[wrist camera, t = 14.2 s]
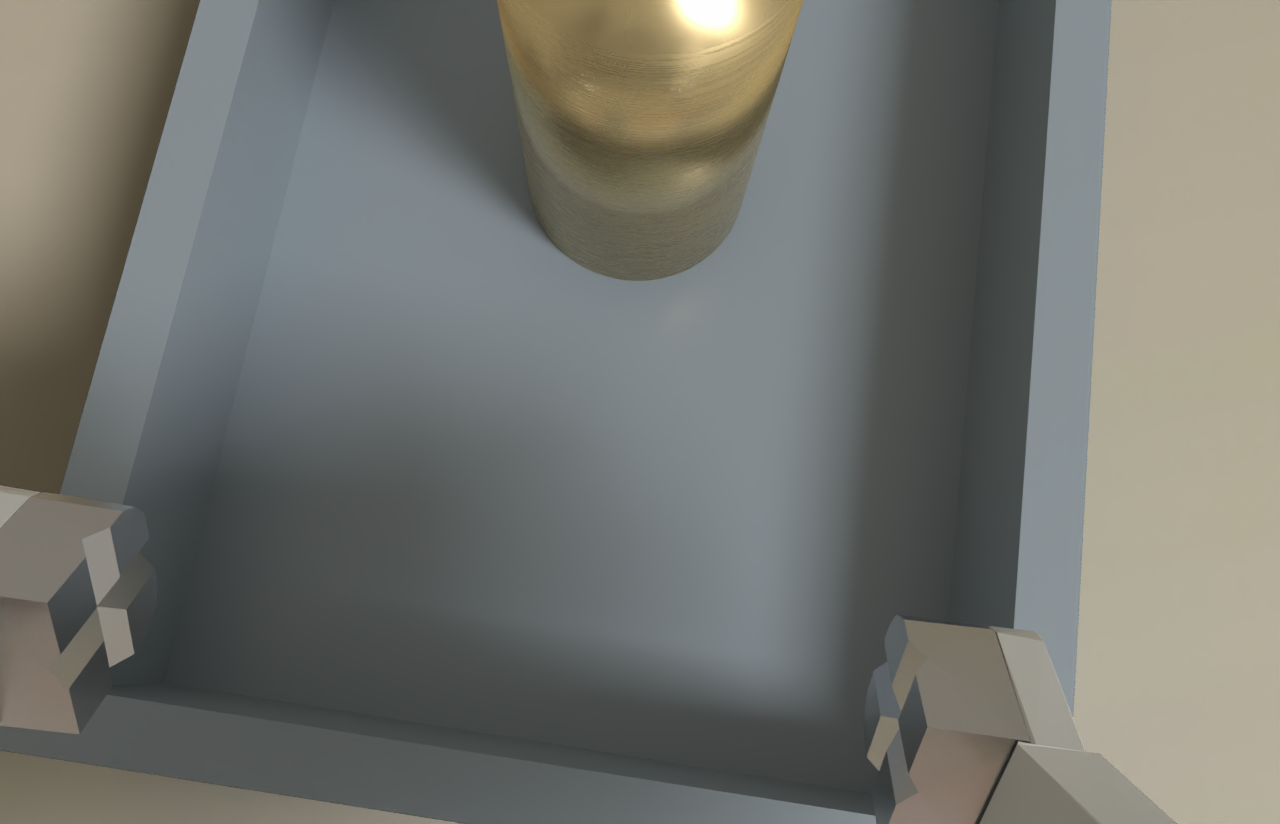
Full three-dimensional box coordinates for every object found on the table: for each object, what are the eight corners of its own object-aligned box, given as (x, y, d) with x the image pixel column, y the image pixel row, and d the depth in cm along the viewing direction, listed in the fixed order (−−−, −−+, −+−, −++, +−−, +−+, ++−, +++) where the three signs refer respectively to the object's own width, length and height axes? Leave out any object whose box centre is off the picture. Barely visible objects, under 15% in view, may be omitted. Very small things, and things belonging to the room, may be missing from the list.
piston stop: (729, 296, 20) (804, 78, 13) (511, 262, 20) (452, 24, 13) (756, 99, 21) (842, -215, 14) (549, 66, 21) (515, -265, 14)
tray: (969, 863, 19) (1062, 918, 15) (113, 728, 19) (-14, 748, 15) (1042, -139, 24) (1127, -292, 20) (365, -243, 24) (318, -415, 20)
